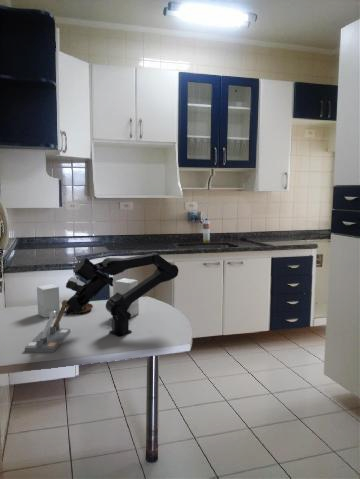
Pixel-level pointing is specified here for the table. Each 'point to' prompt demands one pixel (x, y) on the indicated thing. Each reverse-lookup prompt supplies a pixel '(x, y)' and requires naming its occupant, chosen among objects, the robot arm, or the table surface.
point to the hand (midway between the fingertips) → (66, 313)
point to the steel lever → (48, 324)
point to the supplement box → (48, 299)
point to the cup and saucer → (87, 308)
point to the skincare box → (125, 286)
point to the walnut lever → (61, 313)
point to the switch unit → (48, 340)
